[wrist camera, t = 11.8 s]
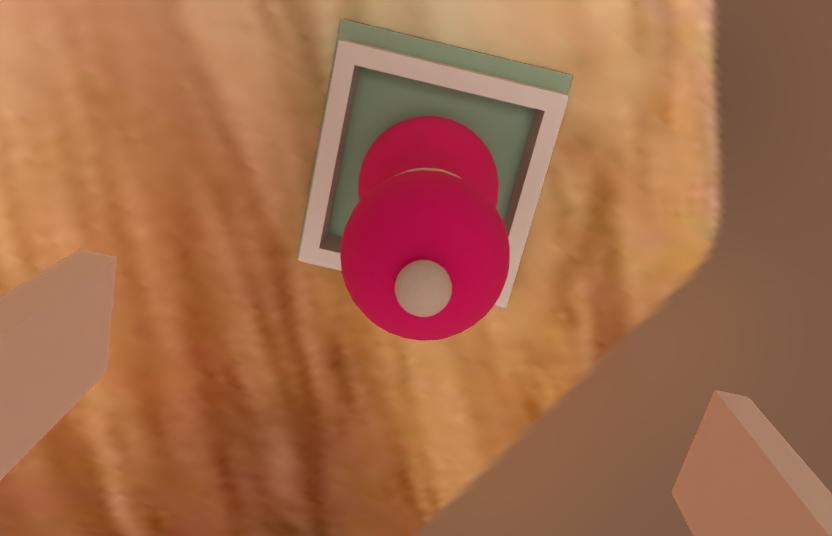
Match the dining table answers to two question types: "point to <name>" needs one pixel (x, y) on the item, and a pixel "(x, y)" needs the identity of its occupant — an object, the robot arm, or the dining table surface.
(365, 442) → the dining table surface
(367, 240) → the pepper mill
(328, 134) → the deck socket
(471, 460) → the dining table surface
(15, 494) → the dining table surface
